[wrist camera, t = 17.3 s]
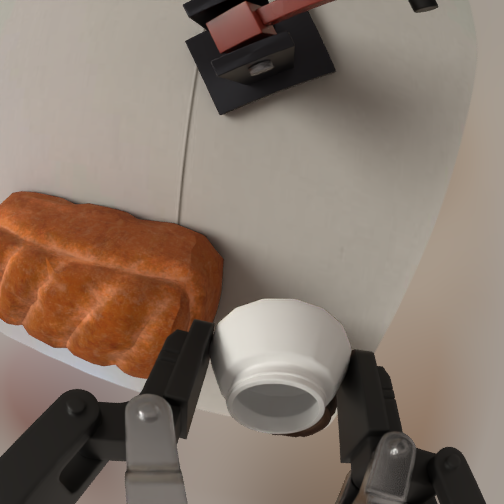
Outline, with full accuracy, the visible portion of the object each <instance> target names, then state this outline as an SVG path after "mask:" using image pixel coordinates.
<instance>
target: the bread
mask: <svg viewBox="0 0 504 504" xmlns="http://www.w3.org/2000/svg"><path fill="white" fill-rule="evenodd" d="M223 261H224V259H223V258H222V257H221V256H220V254H219V253H218V252H217V251H216V250H215V249H214V247H213V246H212V244H211V243H210V242H209V240H208V239H207V238H206V236H204V235H202V234H200V233H197V232H195V231H192V230H190V229H187V228H185V227H182V226H180V225H177V224H175V223H168V222H159V221H149V220H140V219H137V218H135V217H133V216H132V215H130V214H129V213H127V212H124V211H120V210H117V209H113V208H108V207H103V206H99V205H94V204H77V205H75V204H73V203H71V202H69V201H67V200H65V199H63V198H59V197H55V196H50V195H45V194H41V193H36V192H23V191H21V192H15V193H12V194H11V195H10V196H9V197H8V198H7V199H6V200H5V201H3V202H2V203H1V204H0V319H2V320H3V321H4V322H6V323H7V324H13V325H23V326H24V328H25V329H26V331H27V332H28V334H29V335H31V336H33V337H34V338H36V339H38V340H40V341H42V342H44V343H46V344H48V345H50V346H52V347H53V348H68V349H69V350H70V352H71V353H72V354H73V355H75V356H77V357H79V358H81V359H84V360H86V361H88V362H90V363H93V364H97V365H101V366H108V365H116V366H117V367H119V368H120V369H121V370H122V371H123V372H124V373H126V374H128V375H131V376H133V377H138V378H144V379H148V377H149V375H150V372H151V370H152V368H153V366H154V364H155V362H156V359H157V358H158V355H159V353H160V351H161V350H162V347H163V345H164V342H165V340H166V338H167V337H168V336H169V335H170V334H172V333H173V332H174V331H175V330H177V329H179V330H183V331H187V332H189V329H190V327H191V325H192V322H193V320H194V319H198V320H202V321H207V322H211V323H213V320H214V318H215V315H216V312H217V308H218V304H219V300H220V296H221V289H222V275H223Z"/></svg>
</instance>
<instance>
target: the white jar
mask: <svg viewBox="0 0 504 504" xmlns="http://www.w3.org/2000/svg"><path fill="white" fill-rule="evenodd" d="M209 354H210V359H211V364H212V368H213V371H214V374H215V377H216V380H217V383H218V385H219V388H220V391H221V394H222V395H223V397H224V398H225V399H226V404H227V408H228V411H229V413H230V415H231V416H232V417H233V418H234V419H235V420H236V421H237V422H238V423H240V424H241V425H243V426H245V427H247V428H249V429H252V430H255V431H258V432H262V433H270V434H289V433H295V432H299V431H302V430H305V429H307V428H309V427H311V426H313V425H314V424H316V423H317V422H318V421H319V420H320V419H321V418H322V416H323V414H324V411H325V407H326V406H327V405H328V403H329V402H330V401H331V400H332V399H333V398H334V396H335V394H336V392H337V390H338V389H339V387H340V385H341V383H342V381H343V379H344V377H345V375H346V373H347V371H348V368H349V362H350V357H351V345H350V342H349V340H348V337H347V335H346V332H345V330H344V327H343V325H342V324H341V323H340V322H339V321H338V320H336V319H335V318H334V317H333V316H332V315H331V314H329V313H328V312H327V311H326V310H325V309H323V308H321V307H318V306H315V305H312V304H309V303H306V302H303V301H300V300H297V299H261V300H258V301H255V302H252V303H249V304H246V305H243V306H240V307H237V308H235V309H234V310H233V311H231V312H230V313H229V314H228V315H227V316H226V317H225V318H223V319H222V320H221V321H220V322H219V323H218V324H217V326H216V329H215V332H214V335H213V337H212V340H211V344H210V349H209Z"/></svg>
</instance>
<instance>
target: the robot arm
mask: <svg viewBox="0 0 504 504" xmlns="http://www.w3.org/2000/svg"><path fill="white" fill-rule="evenodd" d="M213 332H214V323H211V322H207V321H202V320H198V319H194V320H193V322H192V325H191V327H190V329H189V332H187V331H183V330H179V329H177V330H175V331H174V332H173V333H172V334H170V335H169V336H168V337H167V338H166V340H165V342H164V345H163V347H162V350H161V351H160V353H159V355H158V358H157V359H156V362H155V364H154V366H153V368H152V370H151V372H150V375H149V377H148V379H147V381H146V383H145V385H144V388H143V390H142V391H141V393H140V394H139V395H138V396H136V397H134V398H132V399H131V400H130V401H128V402H124V403H108V402H98V401H97V399H96V398H95V397H94V395H92V394H91V393H90V392H88V391H85V390H81V389H73V390H69V391H67V392H65V393H63V394H62V395H61V396H60V397H59V398H58V399H57V400H56V401H55V402H54V403H53V404H52V405H51V406H50V407H49V408H48V409H47V410H46V411H45V412H44V413H43V414H42V415H41V416H40V417H39V418H38V419H37V420H36V421H35V422H34V423H33V424H32V425H31V426H30V427H29V428H28V429H27V430H26V431H25V432H24V433H23V434H22V435H21V436H20V437H19V439H17V440H16V441H15V443H14V444H13V445H12V446H11V447H10V448H9V449H8V450H7V451H6V452H5V453H4V454H3V455H2V456H1V457H0V504H75V503H76V502H77V501H78V499H79V498H80V496H82V494H83V493H84V491H85V490H86V489H87V488H88V487H89V485H90V484H91V482H92V481H93V480H94V479H95V477H96V476H97V475H98V474H99V473H100V471H101V470H102V469H103V467H104V466H105V465H106V463H107V462H108V461H109V460H112V461H127V471H126V472H125V488H126V501H127V504H187V498H186V492H185V487H184V481H183V476H182V472H181V469H180V464H179V458H178V451H177V443H178V439H179V438H183V439H187V435H188V432H189V429H190V425H191V422H192V418H193V415H194V412H195V408H196V405H197V402H198V398H199V395H200V392H201V388H202V385H203V381H204V378H205V375H206V371H207V368H208V364H209V360H210V354H209V349H210V344H211V340H212V337H213ZM392 389H393V387H392V383H391V379H390V376H389V375H388V373H387V372H386V371H385V369H384V368H383V367H381V366H377V364H376V360H375V356H374V353H373V352H370V351H363V350H356V349H354V350H352V352H351V357H350V362H349V368H348V371H347V373H346V375H345V377H344V379H343V381H342V383H341V385H340V387H339V389H338V390H337V392H336V397H337V410H338V424H339V439H340V460H341V463H351V470H350V471H349V473H348V474H347V476H346V478H345V481H344V483H343V486H342V488H341V491H340V493H339V496H338V498H337V500H336V503H335V504H437V501H436V499H435V496H436V495H437V497H438V500H439V502H440V504H486V503H485V500H484V498H483V496H482V493H481V491H480V489H479V487H478V485H477V482H476V480H475V478H474V476H473V474H472V472H471V470H470V468H469V465H468V464H467V461H466V459H465V457H464V456H463V454H462V453H461V452H460V451H459V450H457V449H455V448H453V447H445V448H443V449H441V450H440V451H439V452H438V453H437V454H435V453H431V452H428V451H424V450H421V449H418V448H416V447H415V444H414V442H413V440H412V439H411V438H410V437H409V436H408V435H406V434H404V433H403V432H402V427H401V422H400V418H399V413H398V409H397V404H396V400H395V399H394V398H395V396H394V391H393V390H392Z"/></svg>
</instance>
